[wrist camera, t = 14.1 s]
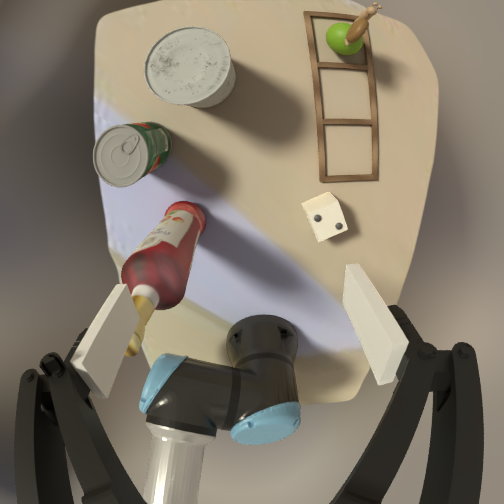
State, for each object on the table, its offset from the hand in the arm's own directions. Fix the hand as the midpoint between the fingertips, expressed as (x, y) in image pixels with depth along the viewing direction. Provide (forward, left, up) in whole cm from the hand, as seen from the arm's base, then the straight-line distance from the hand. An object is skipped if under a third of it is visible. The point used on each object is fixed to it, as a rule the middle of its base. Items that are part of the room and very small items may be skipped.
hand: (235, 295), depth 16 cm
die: (-6, -12, -29) cm, 32 cm away
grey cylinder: (+17, +4, -29) cm, 34 cm away
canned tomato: (+8, +14, -29) cm, 33 cm away
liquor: (-5, +10, -29) cm, 32 cm away
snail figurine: (+22, -17, -29) cm, 40 cm away
